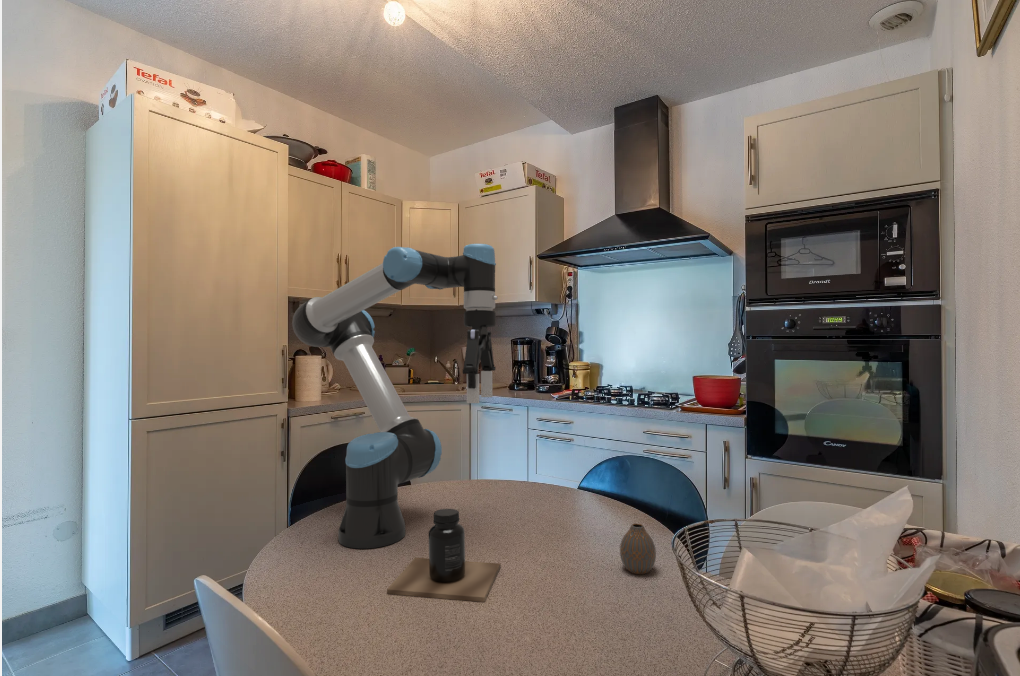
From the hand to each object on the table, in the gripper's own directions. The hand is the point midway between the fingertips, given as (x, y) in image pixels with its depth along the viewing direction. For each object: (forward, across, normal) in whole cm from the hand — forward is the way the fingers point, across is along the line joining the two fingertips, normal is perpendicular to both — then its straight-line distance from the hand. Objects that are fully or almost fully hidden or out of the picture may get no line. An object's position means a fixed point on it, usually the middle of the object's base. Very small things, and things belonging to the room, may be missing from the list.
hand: (480, 400), depth 120 cm
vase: (+32, -13, -35) cm, 49 cm away
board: (+32, -24, +1) cm, 39 cm away
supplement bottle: (+31, -24, +1) cm, 39 cm away
